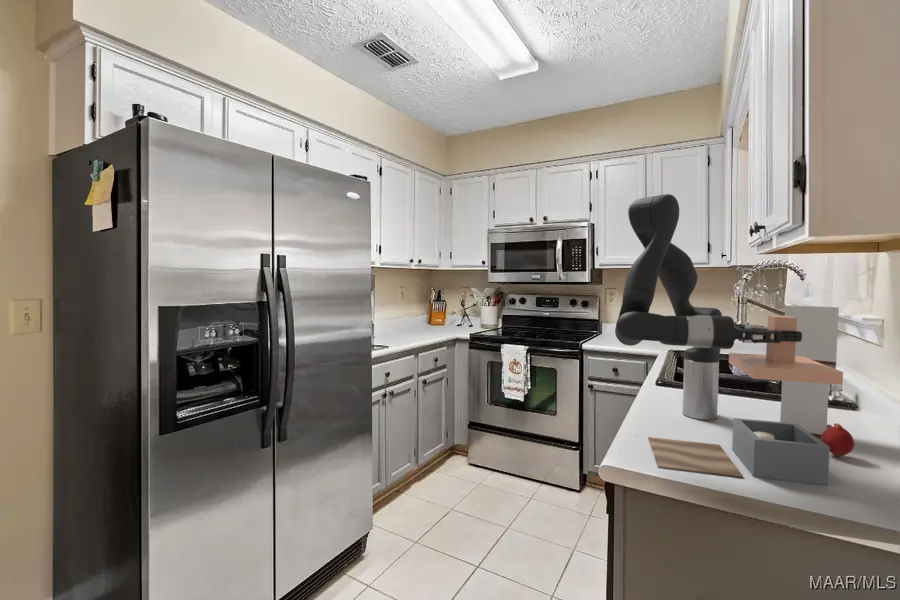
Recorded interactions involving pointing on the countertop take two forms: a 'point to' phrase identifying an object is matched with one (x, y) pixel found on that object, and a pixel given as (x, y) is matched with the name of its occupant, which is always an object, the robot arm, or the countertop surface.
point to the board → (693, 457)
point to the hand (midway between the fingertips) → (795, 335)
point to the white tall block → (817, 344)
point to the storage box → (780, 451)
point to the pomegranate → (838, 440)
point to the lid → (784, 360)
